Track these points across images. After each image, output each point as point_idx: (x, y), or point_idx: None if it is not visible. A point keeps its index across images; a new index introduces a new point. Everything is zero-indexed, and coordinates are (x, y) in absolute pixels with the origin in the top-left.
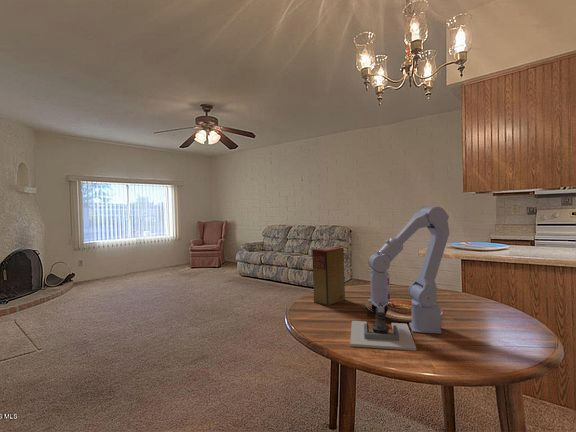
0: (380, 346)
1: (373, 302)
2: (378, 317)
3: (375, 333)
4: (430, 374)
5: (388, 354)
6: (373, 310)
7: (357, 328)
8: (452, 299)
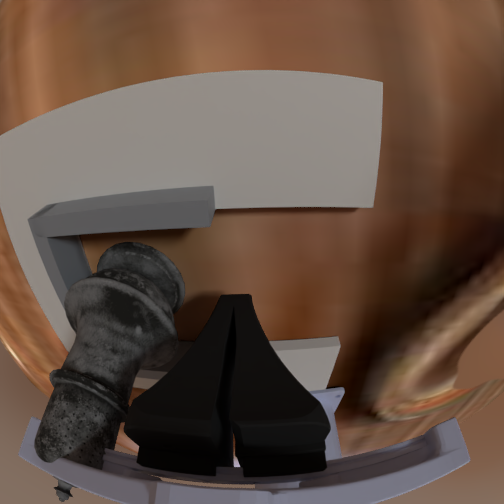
0: (30, 279)
1: (101, 495)
2: (51, 382)
3: (60, 284)
4: (14, 356)
5: (18, 295)
6: (135, 403)
7: (197, 128)
8: (467, 409)
